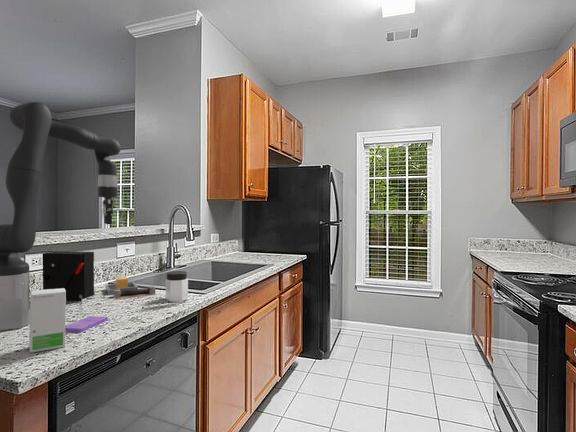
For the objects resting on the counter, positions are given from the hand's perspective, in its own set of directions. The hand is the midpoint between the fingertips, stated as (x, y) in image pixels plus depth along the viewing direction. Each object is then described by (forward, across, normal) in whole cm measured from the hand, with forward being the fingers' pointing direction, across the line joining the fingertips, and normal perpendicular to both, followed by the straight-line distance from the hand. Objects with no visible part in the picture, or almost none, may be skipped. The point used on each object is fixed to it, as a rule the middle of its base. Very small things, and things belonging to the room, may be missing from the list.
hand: (107, 223), depth 151 cm
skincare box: (+32, +51, -19) cm, 63 cm away
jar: (+32, +20, +24) cm, 45 cm away
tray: (+32, -8, +6) cm, 33 cm away
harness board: (+32, +4, +10) cm, 34 cm away
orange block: (+31, -8, +6) cm, 33 cm away
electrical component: (+32, -7, -14) cm, 36 cm away
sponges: (+33, +36, -9) cm, 50 cm away
